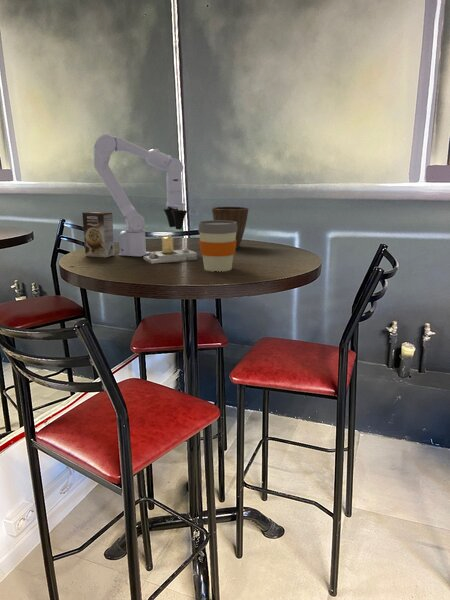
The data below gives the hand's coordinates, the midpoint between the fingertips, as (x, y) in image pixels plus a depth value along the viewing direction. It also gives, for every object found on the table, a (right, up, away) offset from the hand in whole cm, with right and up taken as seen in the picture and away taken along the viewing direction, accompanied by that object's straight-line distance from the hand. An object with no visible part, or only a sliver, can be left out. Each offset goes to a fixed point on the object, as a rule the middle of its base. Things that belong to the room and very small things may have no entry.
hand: (175, 228), depth 180 cm
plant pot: (+21, -6, +15) cm, 26 cm away
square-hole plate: (-1, -13, -12) cm, 18 cm away
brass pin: (-2, -13, -12) cm, 18 cm away
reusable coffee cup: (+17, -18, -27) cm, 36 cm away
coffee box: (-28, -11, -4) cm, 30 cm away
